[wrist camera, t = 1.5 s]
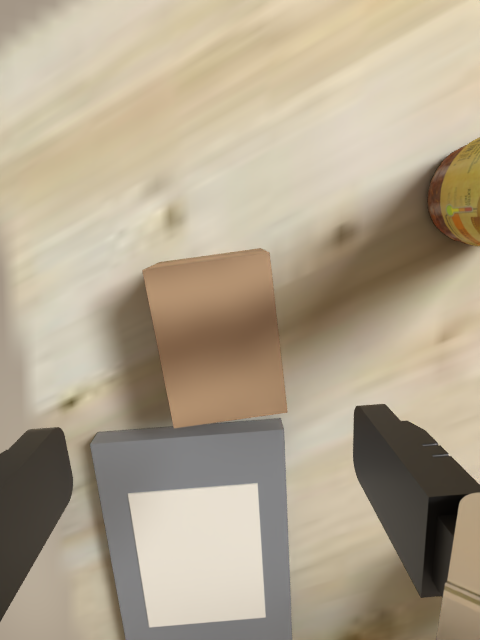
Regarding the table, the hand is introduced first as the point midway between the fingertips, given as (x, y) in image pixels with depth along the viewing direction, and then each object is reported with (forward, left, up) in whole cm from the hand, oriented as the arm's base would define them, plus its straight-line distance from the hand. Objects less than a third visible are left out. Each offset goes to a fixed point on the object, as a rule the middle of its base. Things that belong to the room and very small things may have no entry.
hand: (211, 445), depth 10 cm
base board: (-9, +15, -15) cm, 23 cm away
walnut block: (0, 0, -15) cm, 15 cm away
